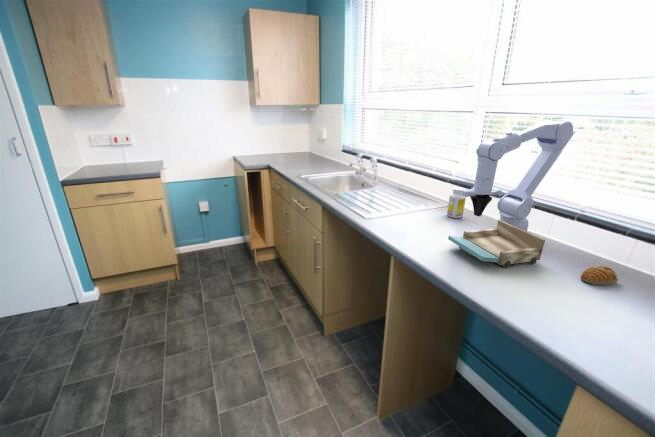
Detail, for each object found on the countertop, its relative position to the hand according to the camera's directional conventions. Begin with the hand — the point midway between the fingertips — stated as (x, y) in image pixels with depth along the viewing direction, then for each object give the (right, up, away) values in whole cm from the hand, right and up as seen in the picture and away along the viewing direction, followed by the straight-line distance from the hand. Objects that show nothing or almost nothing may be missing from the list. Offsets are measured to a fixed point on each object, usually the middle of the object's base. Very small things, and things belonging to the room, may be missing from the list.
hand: (477, 215), depth 111 cm
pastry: (+25, -19, -20) cm, 37 cm away
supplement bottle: (+5, 0, +31) cm, 31 cm away
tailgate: (-3, -10, -8) cm, 14 cm away
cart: (+5, -13, -5) cm, 15 cm away
